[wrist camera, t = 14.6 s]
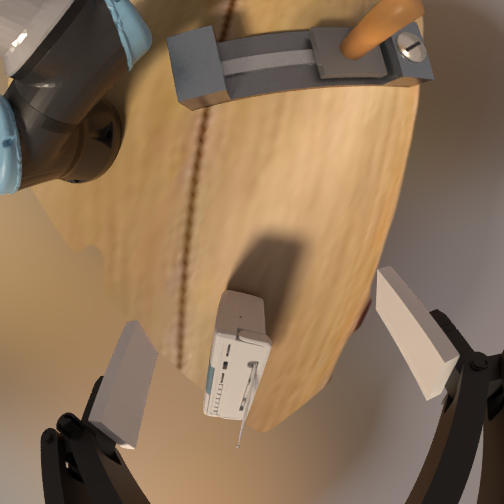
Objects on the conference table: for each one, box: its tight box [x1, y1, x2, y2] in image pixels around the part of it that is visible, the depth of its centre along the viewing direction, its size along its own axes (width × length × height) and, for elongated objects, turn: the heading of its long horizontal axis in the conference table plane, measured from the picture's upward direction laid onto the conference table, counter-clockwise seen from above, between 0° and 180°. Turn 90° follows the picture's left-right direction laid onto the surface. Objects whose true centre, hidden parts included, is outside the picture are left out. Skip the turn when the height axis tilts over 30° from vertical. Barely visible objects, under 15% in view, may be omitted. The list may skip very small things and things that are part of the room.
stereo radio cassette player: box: [203, 290, 272, 448], centre depth 41 cm, size 21×8×20 cm, turn 169°
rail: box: [167, 22, 434, 111], centre depth 29 cm, size 36×10×9 cm, turn 101°
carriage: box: [308, 0, 425, 79], centre depth 21 cm, size 10×8×19 cm
